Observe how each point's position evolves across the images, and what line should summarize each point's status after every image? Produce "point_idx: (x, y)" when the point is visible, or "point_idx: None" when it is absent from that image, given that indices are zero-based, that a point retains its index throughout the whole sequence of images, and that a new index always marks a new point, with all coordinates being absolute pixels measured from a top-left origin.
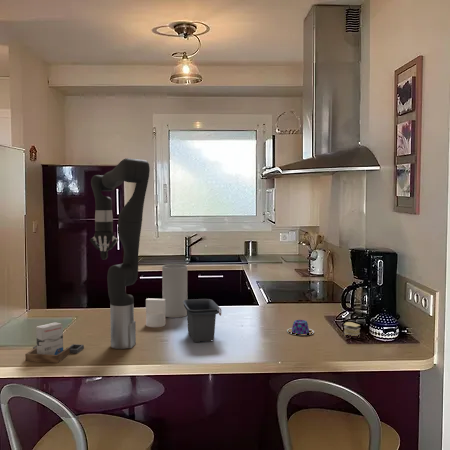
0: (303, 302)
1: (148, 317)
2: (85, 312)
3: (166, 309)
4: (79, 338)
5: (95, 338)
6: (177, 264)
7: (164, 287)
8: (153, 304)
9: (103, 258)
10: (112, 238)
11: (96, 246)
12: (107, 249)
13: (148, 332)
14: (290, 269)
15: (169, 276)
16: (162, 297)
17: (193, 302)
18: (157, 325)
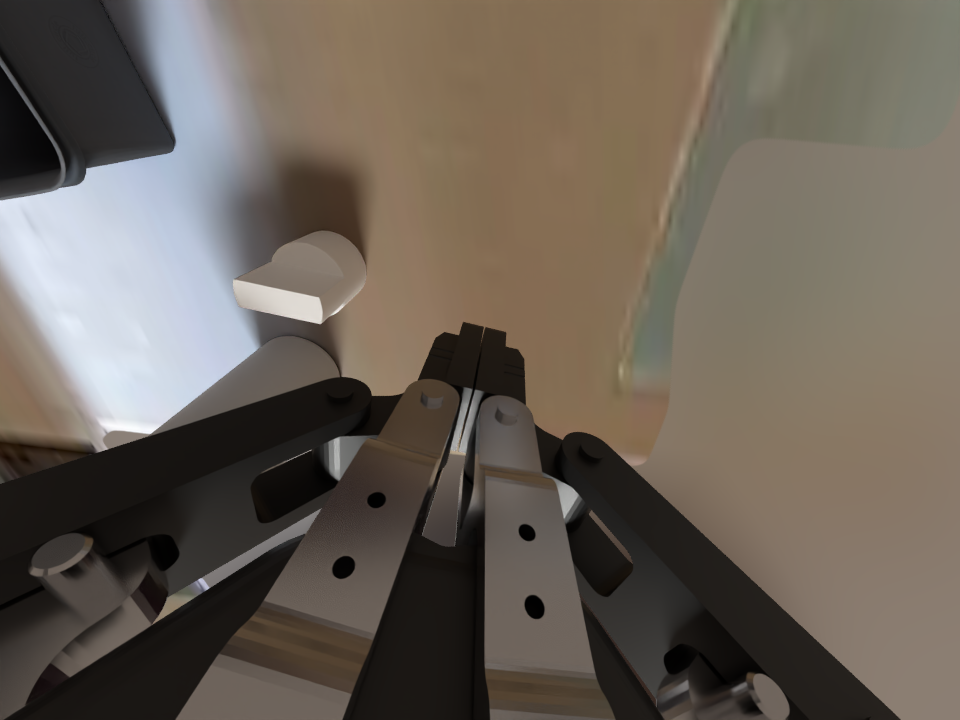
0: (4, 441)
1: (335, 251)
2: (589, 427)
3: (306, 358)
4: (605, 73)
5: (533, 67)
6: None
7: None
8: (295, 282)
9: (482, 328)
10: (10, 687)
11: (621, 492)
12: (387, 407)
13: (328, 154)
14: None
15: None
16: None
17: (39, 178)
18: (313, 232)
